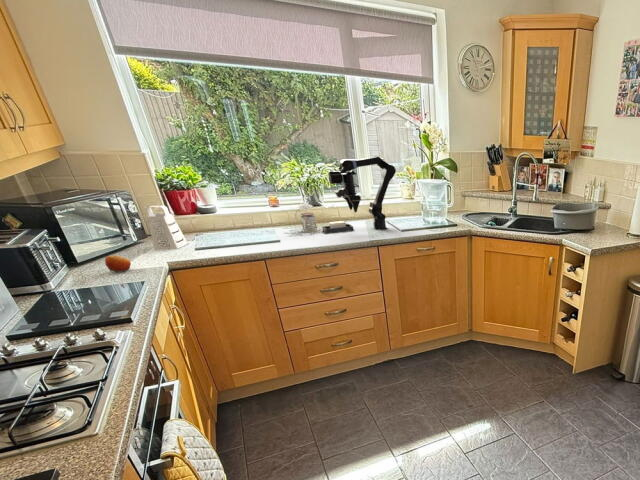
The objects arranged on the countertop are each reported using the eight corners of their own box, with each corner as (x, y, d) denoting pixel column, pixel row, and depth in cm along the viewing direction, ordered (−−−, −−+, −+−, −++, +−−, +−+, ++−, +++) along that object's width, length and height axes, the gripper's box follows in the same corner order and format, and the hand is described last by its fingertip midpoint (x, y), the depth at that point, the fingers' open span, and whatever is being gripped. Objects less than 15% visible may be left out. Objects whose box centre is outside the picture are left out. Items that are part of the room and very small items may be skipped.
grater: (177, 248, 211) (162, 208, 201) (154, 249, 209) (137, 208, 199) (187, 243, 220) (173, 204, 210) (166, 243, 218) (150, 204, 208)
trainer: (345, 228, 257) (343, 220, 255) (347, 229, 254) (345, 222, 252) (329, 229, 252) (327, 222, 250) (331, 231, 249) (329, 223, 247)
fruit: (98, 270, 174) (102, 252, 175) (120, 274, 182) (124, 257, 182) (110, 272, 172) (114, 254, 172) (132, 277, 180) (136, 259, 180)
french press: (321, 230, 251) (312, 187, 239) (300, 233, 245) (290, 188, 233) (317, 227, 258) (308, 185, 246) (297, 229, 253) (287, 186, 240)
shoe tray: (349, 227, 260) (349, 223, 259) (353, 230, 254) (353, 226, 253) (322, 230, 252) (322, 226, 251) (326, 233, 246) (325, 229, 245)
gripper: (330, 182, 242) (335, 209, 249) (339, 185, 229) (343, 214, 236) (349, 181, 248) (353, 208, 255) (359, 184, 234) (363, 213, 242)
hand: (353, 211), depth 247 cm, fingers open, 9 cm apart
